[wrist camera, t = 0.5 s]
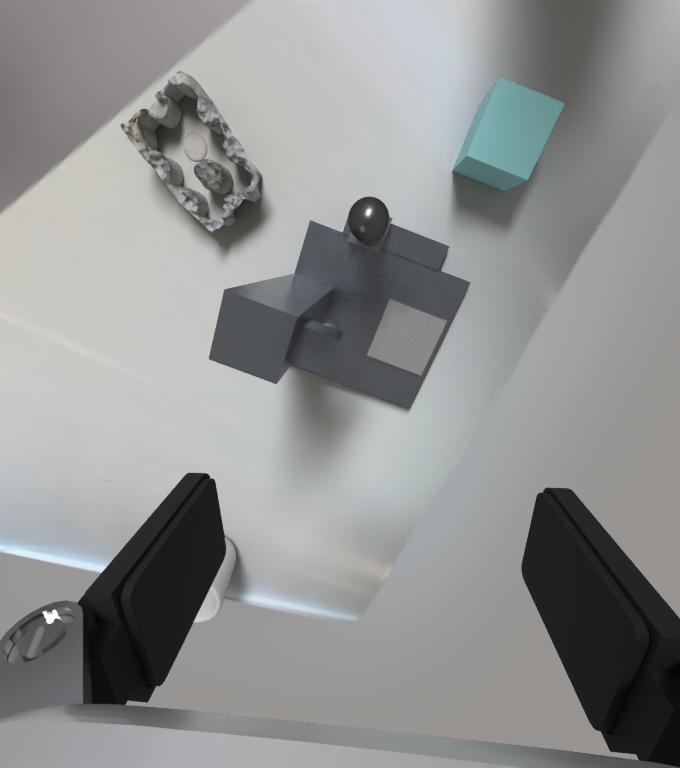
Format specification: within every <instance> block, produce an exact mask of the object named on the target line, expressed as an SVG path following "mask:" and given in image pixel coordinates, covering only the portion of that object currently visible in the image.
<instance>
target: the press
mask: <svg viewBox="0 0 680 768" xmlns="http://www.w3.org/2000/svg"><path fill="white" fill-rule="evenodd" d="M350 233H351V231H350V228H349V225H348V219H347V222H346V225H345V228H344V231H343V233H342V232H339V231H336V230H334V229H331V228H329V227H326V226H324V225H321V224H318V223H316V222H313V221H311V220H310V223H309V226H308V230H307V233H306V237H305V240H304V243H303V247H302V250H301V254H300V257H299V260H298V264H297V267H296V270H295V274H291V275H287V276H282V277H278V278H273V279H269V280H264V281H260V282H256V283H251V284H247V285H242V286H238V287H233V288H229V289H225V290H224V294H223V298H222V303H221V307H220V312H219V316H218V320H217V325H216V329H215V334H214V338H213V342H212V347H211V351H210V356H209V359H210V360H212V361H215V362H218V363H221V364H223V365H226V366H229V367H231V368H234V369H237V370H240V371H242V372H245V373H248V374H250V375H253V376H256V377H259V378H261V379H264V380H267V381H269V382H272V383H275V384H277V383H278V382H279V380H280V379H281V378H282V376H283V375H284V374H285V372H286V371H287V370H288V368H289V367H290V366H291V365H293V366H296V367H299V368H301V369H304V370H307V371H309V372H312V373H315V374H317V375H320V376H323V377H326V378H328V379H331V380H334V381H336V382H339V383H342V384H344V385H347V386H350V387H352V388H355V389H358V390H361V391H363V392H366V393H369V394H371V395H374V396H377V397H379V398H382V399H385V400H388V401H390V402H393V403H396V404H398V405H401V406H404V407H406V408H410V406H411V404H412V402H413V400H414V398H415V396H416V394H417V392H418V390H419V388H420V386H421V384H422V382H423V379H424V377H425V375H426V373H427V371H428V369H429V367H430V365H431V363H432V361H433V359H434V357H435V355H436V353H437V350H438V348H439V346H440V344H441V342H442V340H443V338H444V336H445V334H446V332H447V330H448V328H449V326H450V324H451V321H452V319H453V317H454V315H455V313H456V311H457V309H458V307H459V305H460V303H461V301H462V299H463V297H464V295H465V292H466V290H467V288H468V286H469V284H470V282H468V281H465V280H462V279H460V278H457V277H455V276H452V275H450V274H447V273H444V272H442V271H439V269H440V266H441V264H442V262H443V260H444V257H445V255H446V253H447V251H448V248H449V246H447V245H444V244H442V243H439V242H436V241H434V240H431V239H429V238H426V237H424V236H421V235H419V234H416V233H414V232H411V231H408V230H406V229H403V228H401V227H398V226H396V225H393V224H391V223H390V226H389V229H388V231H387V234H386V237H385V239H384V242H383V245H382V247H381V250H380V253H377V252H375V251H372V250H369V249H367V248H364V247H362V246H359V245H357V244H354V243H351V242H349V241H348V239H349V236H350Z"/></svg>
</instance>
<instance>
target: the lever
mask: <svg viewBox="0 0 680 768" xmlns="http://www.w3.org/2000/svg"><path fill="white" fill-rule="evenodd" d="M391 221H392V218H391V217H389V213H388V210H387V208H386V206H385V204H384V203H383V202H382V201H381V200H379V199H377V198H374V197H364V198H361V199H360V200H358V201H357V202H355V204H354V205H353V206H352V208H351V209H350V212H349V216H348V225H349V228H350V231H351V233H350V236H349V239H348V241H349V242H351V243H354V244H357V245H359V246H362V247H364V248H367V249H369V250H372V251H375V252H377V253H380V250H381V247H382V245H383V242H384V239H385V237H386V234H387V231H388V229H389V226H390V223H391Z"/></svg>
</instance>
